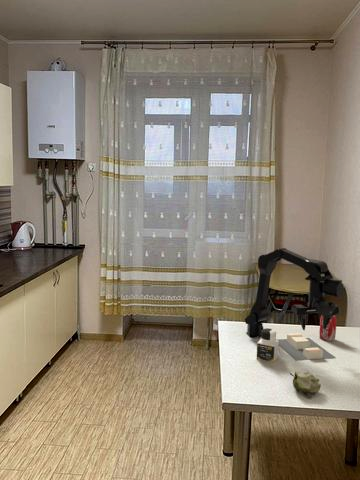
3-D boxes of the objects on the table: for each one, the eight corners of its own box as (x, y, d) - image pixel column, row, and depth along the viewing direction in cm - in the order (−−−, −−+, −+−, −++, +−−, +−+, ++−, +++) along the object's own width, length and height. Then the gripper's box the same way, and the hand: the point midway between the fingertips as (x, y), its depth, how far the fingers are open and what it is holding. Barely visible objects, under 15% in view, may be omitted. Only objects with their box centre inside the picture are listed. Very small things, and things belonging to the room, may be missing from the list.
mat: (295, 361, 167) (295, 360, 167) (272, 340, 189) (272, 339, 189) (336, 359, 170) (336, 358, 170) (308, 338, 193) (309, 337, 193)
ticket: (296, 349, 179) (297, 342, 178) (286, 340, 189) (287, 334, 188) (309, 348, 180) (310, 341, 180) (299, 340, 190) (299, 333, 189)
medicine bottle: (256, 359, 169) (257, 330, 167) (261, 353, 175) (262, 325, 173) (273, 363, 165) (275, 334, 164) (278, 356, 172) (279, 328, 170)
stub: (308, 359, 169) (309, 351, 168) (302, 354, 173) (303, 347, 173) (322, 358, 170) (323, 351, 169) (316, 353, 175) (316, 346, 174)
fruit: (288, 396, 142) (286, 372, 142) (300, 389, 149) (299, 366, 149) (313, 401, 136) (311, 376, 136) (325, 393, 142) (323, 369, 143)
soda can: (337, 342, 189) (339, 316, 187) (321, 342, 189) (323, 316, 187) (332, 336, 196) (333, 312, 194) (317, 336, 196) (318, 311, 194)
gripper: (304, 298, 159) (302, 337, 161) (349, 296, 162) (346, 335, 164) (291, 291, 169) (289, 327, 172) (333, 289, 173) (330, 325, 175)
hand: (314, 329), depth 170 cm, fingers open, 9 cm apart
